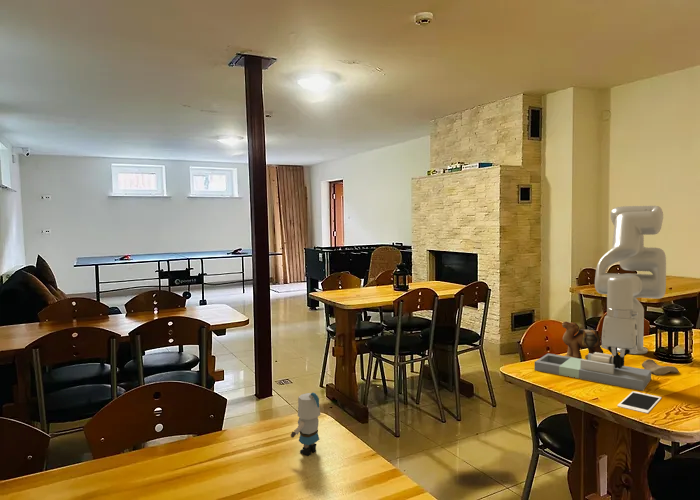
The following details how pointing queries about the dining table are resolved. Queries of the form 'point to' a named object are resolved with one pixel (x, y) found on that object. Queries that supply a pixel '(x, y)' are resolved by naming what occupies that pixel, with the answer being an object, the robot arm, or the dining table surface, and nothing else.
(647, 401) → the black and white tile
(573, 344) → the figurine
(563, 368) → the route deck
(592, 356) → the block
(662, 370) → the pottery shard
